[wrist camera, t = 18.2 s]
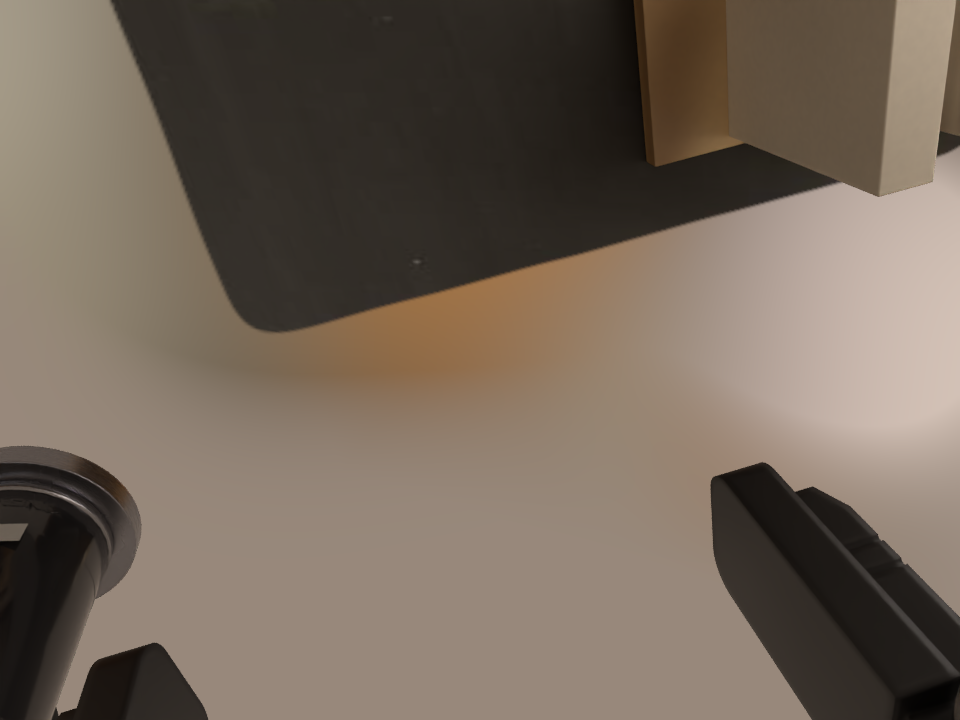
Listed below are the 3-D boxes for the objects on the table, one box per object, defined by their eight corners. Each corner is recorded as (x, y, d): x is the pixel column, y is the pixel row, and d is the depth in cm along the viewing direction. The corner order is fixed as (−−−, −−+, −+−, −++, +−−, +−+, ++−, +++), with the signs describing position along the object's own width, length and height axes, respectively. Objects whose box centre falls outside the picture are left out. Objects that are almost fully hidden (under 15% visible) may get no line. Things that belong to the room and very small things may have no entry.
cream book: (728, 136, 38) (878, 197, 28) (723, -52, 34) (901, -61, 23) (769, 125, 38) (933, 182, 28) (770, -63, 34) (967, -78, 24)
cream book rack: (646, 162, 39) (777, 239, 28) (630, -40, 34) (782, -45, 23) (941, 83, 41) (1182, 127, 29) (968, -123, 36) (1271, -166, 24)
